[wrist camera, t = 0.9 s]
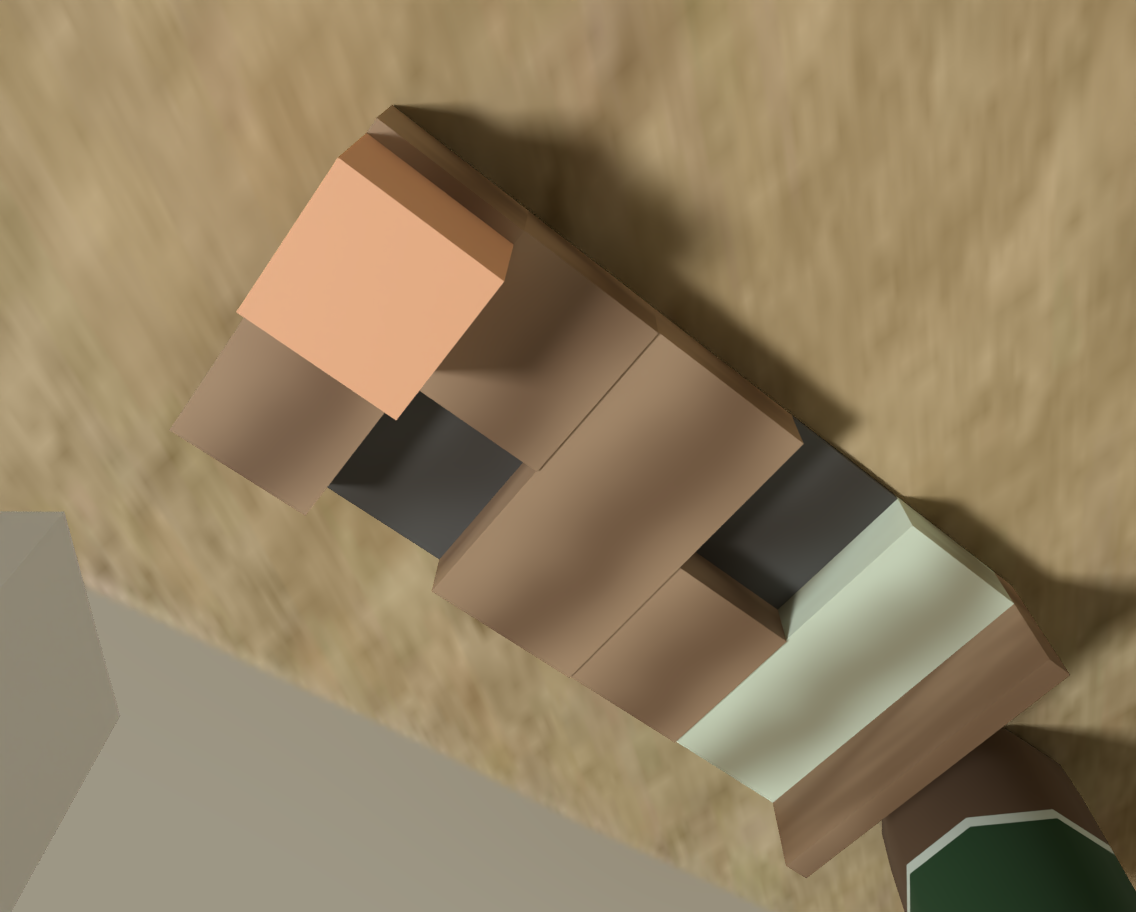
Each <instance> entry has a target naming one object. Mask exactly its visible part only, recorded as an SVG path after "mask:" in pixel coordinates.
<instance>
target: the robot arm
mask: <svg viewBox="0 0 1136 912" xmlns="http://www.w3.org/2000/svg"><path fill="white" fill-rule="evenodd" d="M119 717H120V714H119V711H118V707H117V703H116V700H115V696H114V692H113V689H112V685H111V681H110V678H109V674H108V671H107V667H106V663H105V659H104V656H103V652H102V648H101V645H100V641H99V638H98V634H97V630H96V626H95V623H94V619H93V615H92V612H91V608H90V605H89V601H88V597H87V593H86V590H85V586H84V582H83V579H82V575H81V571H80V568H79V564H78V560H77V557H76V553H75V549H74V546H73V542H72V538H71V535H70V531H69V527H68V524H67V520H66V516H65V513H64V512H0V912H11V911H12V909H13V908H14V906H15V904H16V902H17V901H18V899H19V897H20V895H21V893H22V892H23V890H24V888H25V886H26V884H27V883H28V881H29V879H30V877H31V875H32V874H33V872H34V870H35V868H36V866H37V865H38V863H39V861H40V859H41V857H42V855H43V854H44V852H45V850H46V848H47V846H48V845H49V843H50V841H51V839H52V837H53V836H54V834H55V832H56V830H57V829H58V827H59V825H60V823H61V821H62V820H63V818H64V816H65V814H66V812H67V811H68V809H69V807H70V805H71V803H72V802H73V800H74V798H75V796H76V794H77V793H78V791H79V789H80V787H81V785H82V784H83V782H84V780H85V778H86V776H87V775H88V773H89V771H90V769H91V767H92V766H93V764H94V762H95V760H96V758H97V757H98V755H99V753H100V751H101V749H102V748H103V746H104V744H105V742H106V740H107V739H108V737H109V735H110V733H111V731H112V729H113V728H114V726H115V724H116V722H117V721H118V719H119Z"/></svg>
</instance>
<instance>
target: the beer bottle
mask: <svg viewBox="0 0 1136 912" xmlns="http://www.w3.org/2000/svg"><path fill="white" fill-rule="evenodd" d="M882 835H883V839H884V843H885V847H886V851H887V855H888V859H889V863H890V867H891V871H892V874H893V877H894V880H895V883H896V886H897V889H898V892H899V896H900V899H901V902H902V905H903V908H904V911H905V912H1136V891H1135V889H1134V887H1133V886H1132V884H1131V882H1130V881H1129V879H1128V877H1127V875H1126V874H1125V872H1124V870H1123V868H1122V867H1121V865H1120V863H1119V861H1118V860H1117V858H1116V856H1115V854H1114V853H1113V851H1112V849H1111V847H1110V846H1109V844H1108V842H1107V840H1106V839H1105V837H1104V835H1103V833H1102V832H1101V830H1100V828H1099V826H1098V825H1097V823H1096V821H1095V820H1094V818H1093V816H1092V814H1091V813H1090V811H1089V809H1088V807H1087V806H1086V804H1085V802H1084V800H1083V799H1082V797H1081V795H1080V794H1079V792H1078V791H1077V789H1076V788H1075V786H1074V785H1073V783H1072V782H1071V780H1070V779H1069V777H1068V776H1067V774H1066V773H1065V772H1064V770H1063V769H1062V767H1061V766H1060V764H1058V763H1057V762H1055V761H1054V760H1052V759H1051V758H1049V757H1048V756H1046V755H1045V754H1043V753H1042V752H1040V751H1039V750H1037V749H1036V748H1034V747H1033V746H1031V745H1030V744H1028V743H1026V742H1025V741H1023V740H1022V739H1020V738H1019V737H1017V736H1016V735H1014V734H1013V733H1011V732H1010V731H1008V730H1007V729H1005V728H1003V727H1002V728H1001V729H999V730H998V731H997V732H995V733H994V734H993V735H992V736H990V737H989V738H988V739H986V740H985V741H984V742H982V743H981V744H980V745H979V746H977V747H976V748H975V749H973V750H972V751H971V752H969V753H968V754H967V755H966V756H964V757H963V758H962V759H960V760H959V761H958V762H957V763H955V764H954V765H953V766H951V767H950V768H949V769H947V770H946V771H945V772H944V773H942V774H941V775H940V776H938V777H937V778H936V779H934V780H933V781H932V782H931V783H929V784H928V785H927V786H925V787H924V788H923V789H921V790H920V791H919V792H918V793H916V794H915V795H914V796H912V797H911V798H910V799H908V800H907V801H906V802H905V803H903V804H902V805H901V806H899V807H898V808H897V809H895V810H894V811H893V812H892V813H890V814H889V815H888V816H886V817H885V818H884V819H883V820H882Z"/></svg>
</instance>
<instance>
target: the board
mask: <svg viewBox="0 0 1136 912" xmlns="http://www.w3.org/2000/svg"><path fill="white" fill-rule="evenodd" d="M367 133H368V134H369V135H370V136H371V137H373V138H374V139H375V140H377V141H378V142H379V143H381V144H382V145H383V146H385V147H386V148H387V149H389V150H390V151H391V152H392V153H394V154H395V155H396V156H398V157H399V158H400V159H402V160H403V161H404V162H406V163H407V164H408V165H410V166H411V167H412V168H414V169H415V170H416V171H417V172H419V173H420V174H421V175H423V176H424V177H425V178H427V179H428V180H429V181H431V182H432V183H433V184H435V185H436V186H437V187H438V188H440V189H441V190H442V191H444V192H445V193H446V194H448V195H449V196H450V197H452V198H453V199H454V200H456V201H457V202H458V203H460V204H461V205H462V206H463V207H465V208H466V209H467V210H469V211H470V212H471V213H473V214H474V215H475V216H477V217H478V218H479V219H481V220H482V221H483V222H484V223H486V224H487V225H488V226H490V227H491V228H492V229H494V230H495V231H496V232H498V233H499V234H500V235H502V236H503V237H504V238H506V239H507V240H508V241H509V242H511V243H512V244H513V249H512V253H511V257H510V261H509V265H508V269H507V273H506V277H505V281H504V282H503V284H502V285H501V286H500V288H499V289H498V290H497V291H496V293H495V294H494V295H493V297H492V298H491V299H490V300H489V302H488V303H487V304H486V306H485V307H484V308H483V309H482V311H481V312H480V313H479V315H478V316H477V317H476V318H475V320H474V321H473V322H472V324H471V325H470V326H469V327H468V329H467V330H466V331H465V333H464V334H463V335H462V336H461V338H460V339H459V340H458V342H457V343H456V344H455V345H454V347H453V348H452V349H451V351H450V352H449V353H448V354H447V356H446V357H445V358H444V360H443V361H442V362H441V363H440V365H439V366H438V367H437V369H436V370H435V371H434V372H433V374H432V375H431V376H430V378H429V379H428V380H427V381H426V383H425V384H424V385H423V387H422V388H421V389H420V390H419V392H418V393H417V394H416V396H415V397H414V398H413V399H412V401H411V402H410V403H409V405H408V406H407V407H406V408H405V410H404V411H403V412H402V414H401V415H400V416H399V417H398V419H397V420H395V419H393V418H392V417H390V416H389V415H387V414H386V413H385V412H383V411H382V410H380V409H379V408H377V407H376V406H374V405H373V404H371V403H370V402H368V401H367V400H365V399H364V398H362V397H361V396H359V395H358V394H356V393H355V392H353V391H352V390H351V389H349V388H348V387H346V386H345V385H343V384H342V383H340V382H339V381H337V380H336V379H334V378H333V377H331V376H330V375H328V374H327V373H325V372H324V371H322V370H321V369H320V368H318V367H317V366H315V365H314V364H312V363H311V362H309V361H308V360H306V359H305V358H303V357H302V356H300V355H299V354H297V353H296V352H294V351H293V350H291V349H290V348H288V347H287V346H286V345H284V344H283V343H281V342H280V341H278V340H277V339H275V338H274V337H272V336H271V335H269V334H268V333H266V332H265V331H263V330H262V329H260V328H259V327H257V326H256V325H255V324H253V323H252V322H250V321H249V320H247V319H246V318H243V320H242V321H241V323H240V324H239V326H238V327H237V329H236V330H235V332H234V334H233V335H232V337H231V338H230V340H229V341H228V343H227V344H226V346H225V347H224V349H223V350H222V352H221V353H220V355H219V356H218V358H217V359H216V361H215V362H214V364H213V365H212V367H211V368H210V370H209V371H208V373H207V374H206V376H205V377H204V379H203V380H202V382H201V383H200V385H199V386H198V388H197V389H196V391H195V392H194V394H193V395H192V397H191V398H190V400H189V401H188V403H187V404H186V406H185V407H184V409H183V410H182V412H181V413H180V415H179V416H178V418H177V419H176V421H175V422H174V424H173V425H172V427H171V428H170V431H172V432H173V433H175V434H176V435H178V436H180V437H181V438H183V439H184V440H186V441H187V442H189V443H191V444H192V445H194V446H195V447H197V448H199V449H200V450H202V451H203V452H205V453H207V454H208V455H210V456H211V457H213V458H215V459H216V460H218V461H219V462H221V463H222V464H224V465H226V466H227V467H229V468H230V469H232V470H234V471H235V472H237V473H238V474H240V475H242V476H243V477H245V478H246V479H248V480H250V481H251V482H253V483H254V484H256V485H257V486H259V487H261V488H262V489H264V490H265V491H267V492H269V493H270V494H272V495H273V496H275V497H277V498H278V499H280V500H281V501H283V502H285V503H286V504H288V505H289V506H291V507H292V508H294V509H296V510H297V511H299V512H300V513H302V514H304V515H306V514H307V513H308V512H309V510H310V509H311V508H312V506H313V505H314V504H315V502H316V501H317V500H318V499H319V497H320V496H321V495H322V493H323V492H324V491H325V489H326V488H327V487H328V488H329V489H331V490H332V491H334V492H335V493H337V494H338V495H340V496H342V497H343V498H345V499H346V500H348V501H349V502H351V503H352V504H354V505H356V506H357V507H359V508H360V509H362V510H363V511H365V512H367V513H368V514H370V515H371V516H373V517H374V518H376V519H377V520H379V521H381V522H382V523H384V524H385V525H387V526H388V527H390V528H391V529H393V530H395V531H396V532H398V533H399V534H401V535H402V536H404V537H405V538H407V539H409V540H410V541H412V542H413V543H415V544H416V545H418V546H420V547H421V548H423V549H424V550H426V551H427V552H429V553H430V554H432V555H434V556H435V557H437V558H438V559H439V563H438V567H437V572H436V576H435V580H434V584H433V588H432V592H434V593H435V594H437V595H439V596H440V597H442V598H443V599H445V600H447V601H448V602H450V603H451V604H453V605H454V606H456V607H458V608H459V609H461V610H462V611H464V612H466V613H467V614H469V615H470V616H472V617H474V618H475V619H477V620H478V621H480V622H481V623H483V624H485V625H486V626H488V627H489V628H491V629H493V630H494V631H496V632H497V633H499V634H501V635H502V636H504V637H505V638H507V639H508V640H510V641H512V642H513V643H515V644H516V645H518V646H520V647H521V648H523V649H524V650H526V651H527V652H529V653H531V654H532V655H534V656H535V657H537V658H539V659H540V660H542V661H543V662H545V663H547V664H548V665H550V666H551V667H553V668H554V669H556V670H558V671H559V672H561V673H562V674H564V675H566V676H567V677H569V678H570V677H572V678H573V679H575V680H576V681H578V682H580V683H581V684H583V685H584V686H586V687H588V688H589V689H591V690H592V691H594V692H595V693H597V694H599V695H600V696H602V697H603V698H605V699H607V700H608V701H610V702H611V703H613V704H615V705H616V706H618V707H619V708H621V709H622V710H624V711H626V712H627V713H629V714H630V715H632V716H634V717H635V718H637V719H638V720H640V721H641V722H643V723H645V724H646V725H648V726H649V727H651V728H653V729H654V730H656V731H657V732H659V733H660V734H662V735H664V736H665V737H667V738H668V739H670V740H672V741H673V742H678V743H679V744H681V745H682V746H684V747H685V748H687V749H689V750H690V751H692V752H693V753H695V754H697V755H698V756H700V757H701V758H703V759H705V760H706V761H708V762H709V763H711V764H712V765H714V766H716V767H717V768H719V769H720V770H722V771H724V772H725V773H727V774H728V775H730V776H731V777H733V778H735V779H736V780H738V781H739V782H741V783H743V784H744V785H746V786H747V787H749V788H750V789H752V790H754V791H755V792H757V793H758V794H760V795H762V796H763V797H765V798H766V799H768V800H769V801H771V802H773V806H774V811H775V815H776V820H777V825H778V830H779V834H780V839H781V844H782V848H783V853H784V858H785V863H786V866H787V867H789V868H790V869H792V870H794V871H795V872H797V873H799V874H800V875H802V876H803V877H805V878H807V877H809V876H810V875H811V874H812V873H814V872H815V871H816V870H818V869H819V868H820V867H821V866H823V865H824V864H825V863H827V862H828V861H829V860H831V859H832V858H833V857H834V856H836V855H837V854H838V853H840V852H841V851H842V850H844V849H845V848H846V847H847V846H849V845H850V844H851V843H853V842H854V841H855V840H857V839H858V838H859V837H860V836H862V835H863V834H864V833H866V832H867V831H868V830H870V829H871V828H872V827H873V826H875V825H876V824H877V823H879V822H880V821H881V820H883V819H884V818H885V817H886V816H888V815H889V814H890V813H892V812H893V811H894V810H895V809H897V808H898V807H899V806H901V805H902V804H903V803H905V802H906V801H907V800H908V799H910V798H911V797H912V796H914V795H915V794H916V793H918V792H919V791H920V790H921V789H923V788H924V787H925V786H927V785H928V784H929V783H931V782H932V781H933V780H934V779H936V778H937V777H938V776H940V775H941V774H942V773H944V772H945V771H946V770H947V769H949V768H950V767H951V766H953V765H954V764H955V763H957V762H958V761H959V760H960V759H962V758H963V757H964V756H966V755H967V754H968V753H969V752H971V751H972V750H973V749H975V748H976V747H977V746H979V745H980V744H981V743H982V742H984V741H985V740H986V739H988V738H989V737H990V736H992V735H993V734H994V733H995V732H997V731H998V730H999V729H1001V728H1002V727H1003V726H1005V725H1006V724H1007V723H1008V722H1010V721H1011V720H1012V719H1014V718H1015V717H1016V716H1018V715H1019V714H1020V713H1021V712H1023V711H1024V710H1025V709H1027V708H1028V707H1029V706H1031V705H1032V704H1033V703H1034V702H1036V701H1037V700H1038V699H1040V698H1041V697H1042V696H1043V695H1045V694H1046V693H1047V692H1049V691H1050V690H1051V689H1053V688H1054V687H1055V686H1056V685H1058V684H1059V683H1060V682H1062V681H1063V680H1064V679H1066V678H1067V677H1068V676H1069V675H1070V674H1069V672H1068V671H1067V669H1066V668H1065V666H1064V665H1063V663H1062V662H1061V660H1060V659H1059V657H1058V656H1057V654H1056V652H1055V651H1054V649H1053V648H1052V646H1051V645H1050V643H1049V642H1048V640H1047V639H1046V637H1045V636H1044V634H1043V633H1042V631H1041V630H1040V628H1039V626H1038V625H1037V623H1036V622H1035V620H1034V619H1033V617H1032V616H1031V614H1030V613H1029V611H1028V610H1027V608H1026V607H1025V605H1024V603H1023V602H1022V600H1021V599H1020V597H1019V596H1018V594H1017V593H1016V591H1015V590H1014V588H1013V587H1012V585H1010V584H1009V583H1008V582H1006V581H1005V580H1004V579H1003V578H1001V577H1000V576H999V575H997V574H996V573H995V572H994V571H992V570H991V569H990V568H988V567H987V566H986V565H985V564H983V563H982V562H981V561H979V560H978V559H977V558H976V557H974V556H973V555H972V554H970V553H969V552H968V551H967V550H965V549H964V548H963V547H961V546H960V545H959V544H957V543H956V542H955V541H954V540H952V539H951V538H950V537H948V536H947V535H946V534H945V533H943V532H942V531H941V530H939V529H938V528H937V527H936V526H934V525H933V524H932V523H930V522H929V521H928V520H927V519H925V518H924V517H923V516H921V515H920V514H919V513H918V512H916V511H915V510H914V509H912V508H911V507H910V506H908V505H907V504H906V503H905V502H903V501H902V500H901V499H899V498H898V497H897V496H896V495H894V494H893V493H892V492H890V491H889V490H888V489H887V488H885V487H884V486H883V485H881V484H880V483H879V482H878V481H876V480H875V479H874V478H872V477H871V476H870V475H869V474H867V473H866V472H865V471H863V470H862V469H861V468H860V467H858V466H857V465H856V464H854V463H853V462H852V461H850V460H849V459H848V458H847V457H845V456H844V455H843V454H841V453H840V452H839V451H838V450H836V449H835V448H834V447H832V446H831V445H830V444H829V443H827V442H826V441H825V440H823V439H822V438H821V437H820V436H818V435H817V434H816V433H814V432H813V431H812V430H811V429H809V428H808V427H807V426H805V425H804V424H803V423H801V422H800V421H799V420H798V419H796V418H795V417H794V416H792V415H791V414H790V413H789V412H787V411H786V410H785V409H783V408H782V407H781V406H780V405H778V404H777V403H776V402H774V401H773V400H772V399H771V398H769V397H768V396H767V395H765V394H764V393H763V392H762V391H760V390H759V389H758V388H756V387H755V386H754V385H753V384H751V383H750V382H749V381H747V380H746V379H745V378H743V377H742V376H741V375H740V374H738V373H737V372H736V371H734V370H733V369H732V368H731V367H729V366H728V365H727V364H725V363H724V362H723V361H722V360H720V359H719V358H718V357H716V356H715V355H714V354H713V353H711V352H710V351H709V350H707V349H706V348H705V347H704V346H702V345H701V344H700V343H698V342H697V341H696V340H694V339H693V338H692V337H691V336H689V335H688V334H687V333H685V332H684V331H683V330H682V329H680V328H679V327H678V326H676V325H675V324H674V323H673V322H671V321H670V320H669V319H667V318H666V317H665V316H664V315H662V314H661V313H660V312H658V311H657V310H656V309H655V308H653V307H652V306H651V305H649V304H648V303H647V302H646V301H644V300H643V299H642V298H640V297H639V296H638V295H636V294H635V293H634V292H633V291H631V290H630V289H629V288H627V287H626V286H625V285H624V284H622V283H621V282H620V281H618V280H617V279H616V278H615V277H613V276H612V275H611V274H609V273H608V272H607V271H606V270H604V269H603V268H602V267H600V266H599V265H598V264H597V263H595V262H594V261H593V260H591V259H590V258H589V257H588V256H586V255H585V254H584V253H582V252H581V251H580V250H578V249H577V248H576V247H575V246H573V245H572V244H571V243H569V242H568V241H567V240H566V239H564V238H563V237H562V236H560V235H559V234H558V233H557V232H555V231H554V230H553V229H551V228H550V227H549V226H548V225H546V224H545V223H544V222H542V221H541V220H540V219H539V218H537V217H536V216H535V215H533V214H532V213H531V212H529V211H528V210H527V209H526V208H524V207H523V206H522V205H520V204H519V203H518V202H517V201H515V200H514V199H513V198H511V197H510V196H509V195H508V194H506V193H505V192H504V191H502V190H501V189H500V188H499V187H497V186H496V185H495V184H493V183H492V182H491V181H490V180H488V179H487V178H486V177H484V176H483V175H482V174H481V173H479V172H478V171H477V170H475V169H474V168H473V167H471V166H470V165H469V164H468V163H466V162H465V161H464V160H462V159H461V158H460V157H459V156H457V155H456V154H455V153H453V152H452V151H451V150H450V149H448V148H447V147H446V146H444V145H443V144H442V143H441V142H439V141H438V140H437V139H435V138H434V137H433V136H432V135H430V134H429V133H428V132H426V131H425V130H424V129H422V128H421V127H420V126H419V125H417V124H416V123H415V122H413V121H412V120H411V119H410V118H408V117H407V116H406V115H404V114H403V113H402V112H401V111H399V110H398V109H397V108H395V107H394V106H393V105H392V106H390V107H389V108H388V109H387V110H386V111H384V112H383V113H382V114H381V115H379V116H378V117H377V118H376V120H375V121H374V123H373V124H372V126H371V127H370V129H369V130H368V132H367Z"/></svg>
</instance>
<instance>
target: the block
mask: <svg viewBox="0 0 1136 912" xmlns="http://www.w3.org/2000/svg"><path fill="white" fill-rule="evenodd" d="M512 249H513V244H512V243H511V242H509V241H508V240H507V239H506V238H504V237H503V236H502V235H500V234H499V233H498V232H496V231H495V230H494V229H492V228H491V227H490V226H488V225H487V224H486V223H484V222H483V221H482V220H481V219H479V218H478V217H477V216H475V215H474V214H473V213H471V212H470V211H469V210H467V209H466V208H465V207H463V206H462V205H461V204H460V203H458V202H457V201H456V200H454V199H453V198H452V197H450V196H449V195H448V194H446V193H445V192H444V191H442V190H441V189H440V188H438V187H437V186H436V185H435V184H433V183H432V182H431V181H429V180H428V179H427V178H425V177H424V176H423V175H421V174H420V173H419V172H417V171H416V170H415V169H414V168H412V167H411V166H410V165H408V164H407V163H406V162H404V161H403V160H402V159H400V158H399V157H398V156H396V155H395V154H394V153H392V152H391V151H390V150H389V149H387V148H386V147H385V146H383V145H382V144H381V143H379V142H378V141H377V140H375V139H374V138H373V137H371V136H370V135H369V134H368V133H366V134H365V135H364V136H362V137H361V138H360V139H359V140H358V141H357V142H355V143H354V144H353V145H352V146H351V147H350V148H348V149H347V150H346V151H345V152H344V153H343V154H341V155H340V156H339V157H338V158H337V160H336V161H335V163H334V164H333V166H332V167H331V169H330V170H329V172H328V173H327V175H326V176H325V178H324V179H323V181H322V182H321V184H320V185H319V187H318V189H317V190H316V192H315V193H314V195H313V196H312V198H311V199H310V201H309V202H308V204H307V205H306V207H305V208H304V210H303V211H302V213H301V214H300V216H299V217H298V219H297V220H296V222H295V223H294V225H293V227H292V228H291V230H290V231H289V233H288V234H287V236H286V237H285V239H284V240H283V242H282V243H281V245H280V246H279V248H278V249H277V251H276V252H275V254H274V255H273V257H272V258H271V260H270V261H269V263H268V265H267V266H266V268H265V269H264V271H263V272H262V274H261V275H260V277H259V278H258V280H257V281H256V283H255V284H254V286H253V287H252V289H251V290H250V292H249V293H248V295H247V296H246V298H245V299H244V301H243V303H242V304H241V306H240V307H239V309H238V310H237V313H238V314H240V315H241V316H243V317H244V318H246V319H247V320H249V321H250V322H252V323H253V324H255V325H256V326H257V327H259V328H260V329H262V330H263V331H265V332H266V333H268V334H269V335H271V336H272V337H274V338H275V339H277V340H278V341H280V342H281V343H283V344H284V345H286V346H287V347H288V348H290V349H291V350H293V351H294V352H296V353H297V354H299V355H300V356H302V357H303V358H305V359H306V360H308V361H309V362H311V363H312V364H314V365H315V366H317V367H318V368H320V369H321V370H322V371H324V372H325V373H327V374H328V375H330V376H331V377H333V378H334V379H336V380H337V381H339V382H340V383H342V384H343V385H345V386H346V387H348V388H349V389H351V390H352V391H353V392H355V393H356V394H358V395H359V396H361V397H362V398H364V399H365V400H367V401H368V402H370V403H371V404H373V405H374V406H376V407H377V408H379V409H380V410H382V411H383V412H385V413H386V414H387V415H389V416H390V417H392V418H393V419H395V420H397V419H398V417H399V416H400V415H401V414H402V412H403V411H404V410H405V408H406V407H407V406H408V405H409V403H410V402H411V401H412V399H413V398H414V397H415V396H416V394H417V393H418V392H419V390H420V389H421V388H422V387H423V385H424V384H425V383H426V381H427V380H428V379H429V378H430V376H431V375H432V374H433V372H434V371H435V370H436V369H437V367H438V366H439V365H440V363H441V362H442V361H443V360H444V358H445V357H446V356H447V354H448V353H449V352H450V351H451V349H452V348H453V347H454V345H455V344H456V343H457V342H458V340H459V339H460V338H461V336H462V335H463V334H464V333H465V331H466V330H467V329H468V327H469V326H470V325H471V324H472V322H473V321H474V320H475V318H476V317H477V316H478V315H479V313H480V312H481V311H482V309H483V308H484V307H485V306H486V304H487V303H488V302H489V300H490V299H491V298H492V297H493V295H494V294H495V293H496V291H497V290H498V289H499V288H500V286H501V285H502V284H503V282H504V281H505V277H506V273H507V269H508V265H509V261H510V257H511V253H512Z"/></svg>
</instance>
